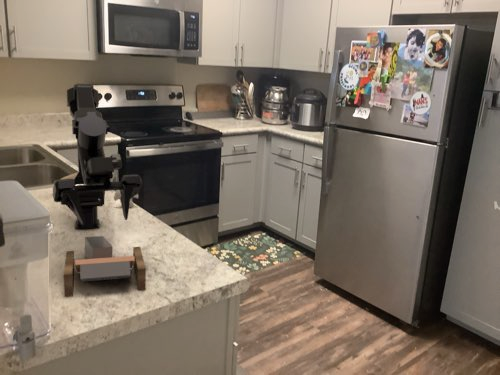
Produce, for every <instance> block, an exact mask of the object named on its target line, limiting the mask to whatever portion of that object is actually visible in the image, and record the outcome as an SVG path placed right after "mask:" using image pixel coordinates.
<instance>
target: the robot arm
mask: <svg viewBox="0 0 500 375" xmlns="http://www.w3.org/2000/svg"><path fill="white" fill-rule="evenodd" d="M99 104H100V101H99V91H98V90H97V89H96V88H94V85H92V84H90V83H76V84H73V87H70V88H69V89H67V90H66V106H67V108H69V114H70V116H71V118H72V120H71V131H72V132H71V133H72V135H74V136H75V139H76V149H77V150H76V151H77V167H78V169H77V171H78V172H77V173H78V174H77V176H76V177H75V179H61V178H60V179H56V180H54V181H55V182H53V187H54V188H53V187H52V197H53V202H54V203H60V205H63V206H67V208H68V209H69V210H70V211H71V212H72V213H73V215H75V218H76V220H75V229H74V230H82V229H83V230H84V229H87V230H88V229H99V228H100V219H98V214H99V213H98V207H102V208H103V206H104V205H105V196H106V192H107V191H108V192H111V191H117V190H120V194H122V195H121V198H120V199H121V202H120V205H121V210H122V215H123V218H124V221H127V220H128V217H129V210H130V208H129V204H130V199H132V198H133V197H134V195H137V194H138V195H139V192H140V190H141V188H142V186H143V180H142V177H141V176H140V175H139V174H124V175H122V178H121V180H120V181H111V179H113V178H114V174H113V173H114V172H115V170H121V169H122V167H123V163H122V162H123V161H122V158H121V154H120V153H118V154H117V153H116V154H115V153H114V154H111V155H110V156H107V157H106V155H105V150H104V146H105V143H106V136H107V135H108V133H109V132H111V131H110V127H111V126H109V124H108V123H107V121H106V120H105V119H104V118H103V115H102V112H100V110H99V111H98V110H97V108H98V107H99ZM120 199H119V200H120ZM133 199H134V198H133ZM133 199H132V200H133Z"/></svg>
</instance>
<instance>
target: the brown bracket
mask: <svg viewBox="0 0 500 375" xmlns="http://www.w3.org/2000/svg"><path fill="white" fill-rule="evenodd" d="M132 249H133V250H132V251H133V253H132V254H133V255H132V256H134V259H135V261H134V263H133V266H132V268H133V271H134V276H135V281H136V282H135V283H136V287H137V290H138V291H144V290H146V289H147V288H146V286H147V284H146V283H147V282H146V276H147V275H146V272H147V270H146V265H145V261H144V256H143V253H142V249H141V246H134V247H133V248H132ZM75 268H76V266H75V250H69V251H68V250H67V251H66V252H65V261H64V269H63V289H64V291H63V292H64V293H63V294H64V298H68V297H73V296H74V285H75V273H76V272H75V271H76V269H75Z"/></svg>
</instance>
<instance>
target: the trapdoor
mask: <svg viewBox="0 0 500 375" xmlns="http://www.w3.org/2000/svg"><path fill="white" fill-rule="evenodd" d="M134 261H135V259H134V256H133V255H129V256H128V255H126V256H115V257H113V256H112V258H97V259H87V258H86V259H85V258H83V259H74V265H75V268H76V269H75V271H76V274H77V273H78V274H79V273H80V281H81V282H82V283H84V282H94V281H95V282H96V281H107V280H108V281H109V280H118V279H129V278H131V269H132V268H133V263H134Z"/></svg>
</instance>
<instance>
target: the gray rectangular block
mask: <svg viewBox="0 0 500 375" xmlns="http://www.w3.org/2000/svg"><path fill="white" fill-rule="evenodd" d="M84 256H85V257H86V259H97V258H112V257H113V246H112V244H111V243H110V242H109V241H108V240H107V239H106V237H104V235H99V236H84Z"/></svg>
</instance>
